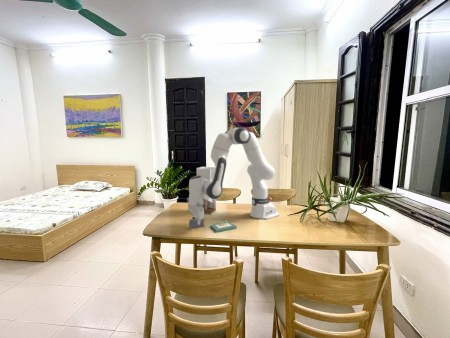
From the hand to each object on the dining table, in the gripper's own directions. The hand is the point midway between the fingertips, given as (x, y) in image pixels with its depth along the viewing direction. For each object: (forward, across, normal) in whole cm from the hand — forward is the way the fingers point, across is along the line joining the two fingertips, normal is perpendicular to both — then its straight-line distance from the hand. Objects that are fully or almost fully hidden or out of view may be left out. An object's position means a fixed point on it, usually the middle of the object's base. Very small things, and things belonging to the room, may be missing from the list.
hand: (195, 221), depth 147 cm
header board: (+3, -9, -15) cm, 18 cm away
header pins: (+2, -9, -15) cm, 18 cm away
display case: (+4, +26, -18) cm, 32 cm away
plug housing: (+4, 0, 0) cm, 4 cm away
